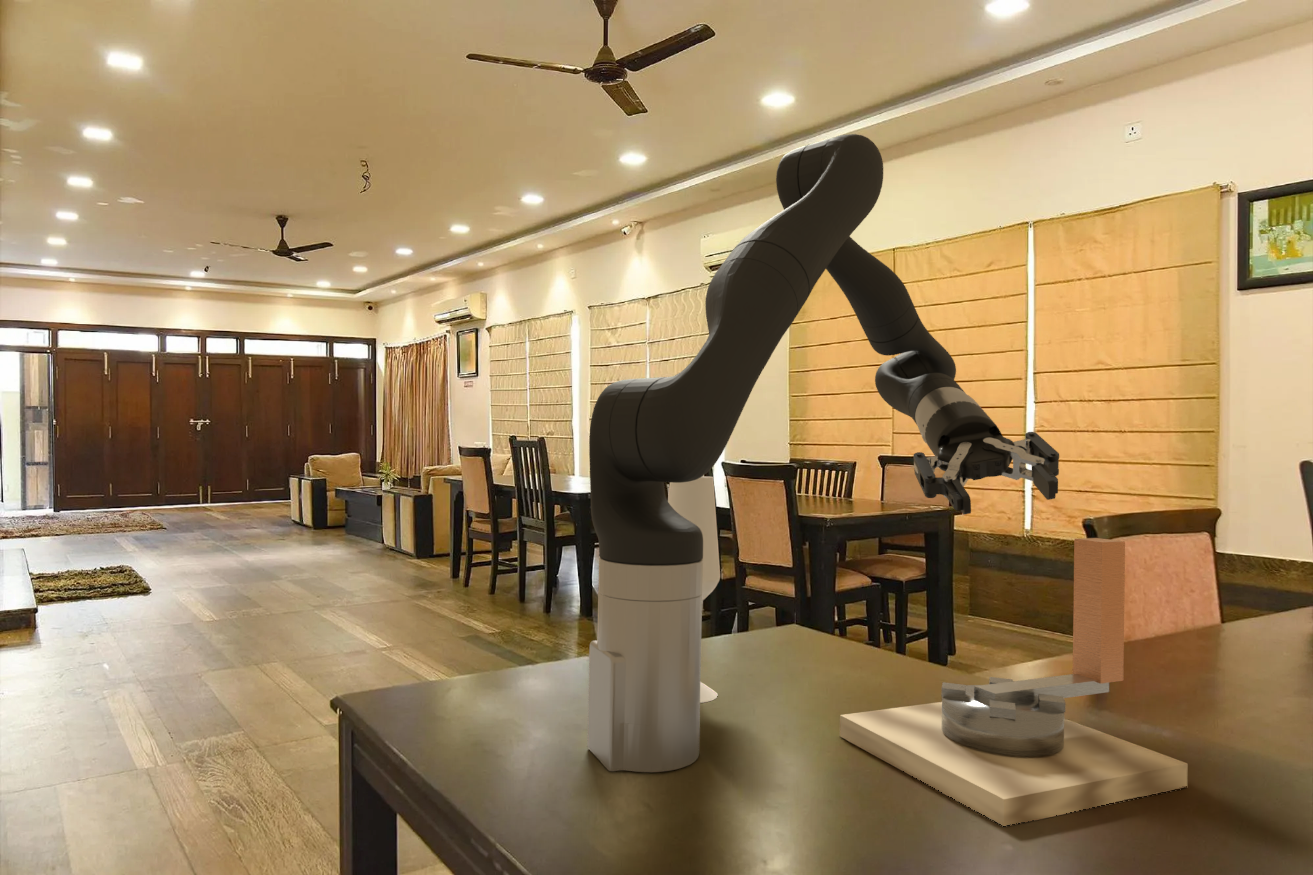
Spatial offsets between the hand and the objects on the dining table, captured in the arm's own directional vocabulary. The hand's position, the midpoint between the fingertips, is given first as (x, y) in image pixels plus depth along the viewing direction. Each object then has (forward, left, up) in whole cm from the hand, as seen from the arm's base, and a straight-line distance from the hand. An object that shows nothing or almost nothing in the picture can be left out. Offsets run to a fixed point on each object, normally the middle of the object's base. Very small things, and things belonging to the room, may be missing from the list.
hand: (1009, 499), depth 84 cm
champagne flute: (-27, +19, -23) cm, 40 cm away
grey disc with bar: (-5, -8, -20) cm, 22 cm away
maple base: (-9, -8, -23) cm, 25 cm away
